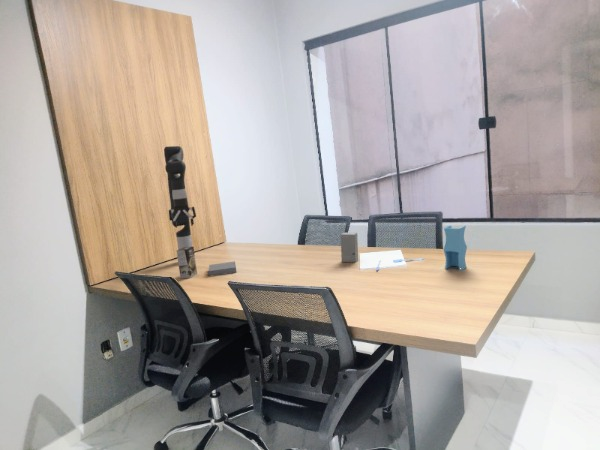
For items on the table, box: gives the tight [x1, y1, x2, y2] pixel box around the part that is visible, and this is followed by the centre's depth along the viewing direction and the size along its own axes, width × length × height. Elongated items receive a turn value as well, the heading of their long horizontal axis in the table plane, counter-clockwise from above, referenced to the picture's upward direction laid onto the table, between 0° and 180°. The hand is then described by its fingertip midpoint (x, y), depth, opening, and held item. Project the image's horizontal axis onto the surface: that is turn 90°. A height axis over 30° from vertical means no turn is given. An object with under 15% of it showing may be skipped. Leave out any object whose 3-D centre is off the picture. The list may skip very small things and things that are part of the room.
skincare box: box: [340, 232, 359, 263], centre depth 232 cm, size 8×7×16 cm
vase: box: [443, 224, 468, 272], centre depth 198 cm, size 8×8×20 cm
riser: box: [208, 260, 237, 277], centre depth 238 cm, size 15×15×3 cm
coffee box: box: [176, 246, 198, 279], centre depth 234 cm, size 9×6×16 cm
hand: (184, 226), depth 231 cm, fingers open, 8 cm apart
